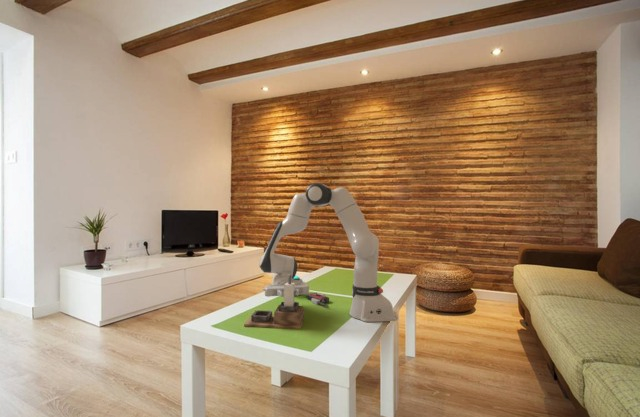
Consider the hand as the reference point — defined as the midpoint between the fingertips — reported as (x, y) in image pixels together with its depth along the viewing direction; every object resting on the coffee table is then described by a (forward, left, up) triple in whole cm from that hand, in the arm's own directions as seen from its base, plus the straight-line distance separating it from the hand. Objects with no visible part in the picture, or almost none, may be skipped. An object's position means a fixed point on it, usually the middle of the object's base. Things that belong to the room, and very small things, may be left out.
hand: (289, 294), depth 138 cm
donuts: (+6, -45, -13) cm, 47 cm away
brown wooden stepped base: (+6, -1, -13) cm, 14 cm away
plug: (0, -1, -7) cm, 7 cm away
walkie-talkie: (-12, -32, -13) cm, 36 cm away
